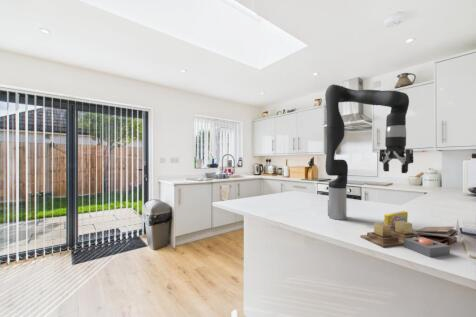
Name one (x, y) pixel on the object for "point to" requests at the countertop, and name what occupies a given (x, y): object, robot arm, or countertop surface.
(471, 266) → the countertop surface
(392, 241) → the pallet
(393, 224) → the candy box
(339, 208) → the robot arm
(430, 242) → the button
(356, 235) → the countertop surface
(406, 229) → the block
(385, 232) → the block
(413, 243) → the button housing
